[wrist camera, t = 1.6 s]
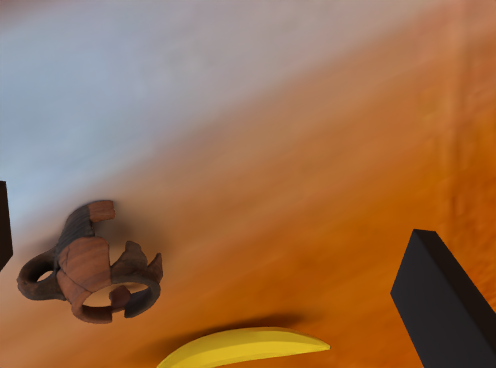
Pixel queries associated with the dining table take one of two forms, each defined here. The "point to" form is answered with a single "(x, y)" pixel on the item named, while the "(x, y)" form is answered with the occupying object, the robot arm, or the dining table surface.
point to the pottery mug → (91, 270)
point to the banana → (242, 347)
